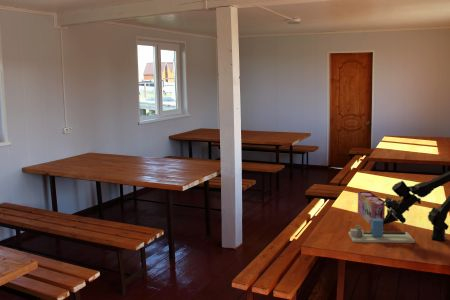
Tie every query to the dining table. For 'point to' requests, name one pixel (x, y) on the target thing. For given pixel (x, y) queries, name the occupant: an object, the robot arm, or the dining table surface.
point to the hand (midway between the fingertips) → (382, 223)
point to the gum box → (370, 206)
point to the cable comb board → (392, 237)
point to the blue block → (377, 227)
